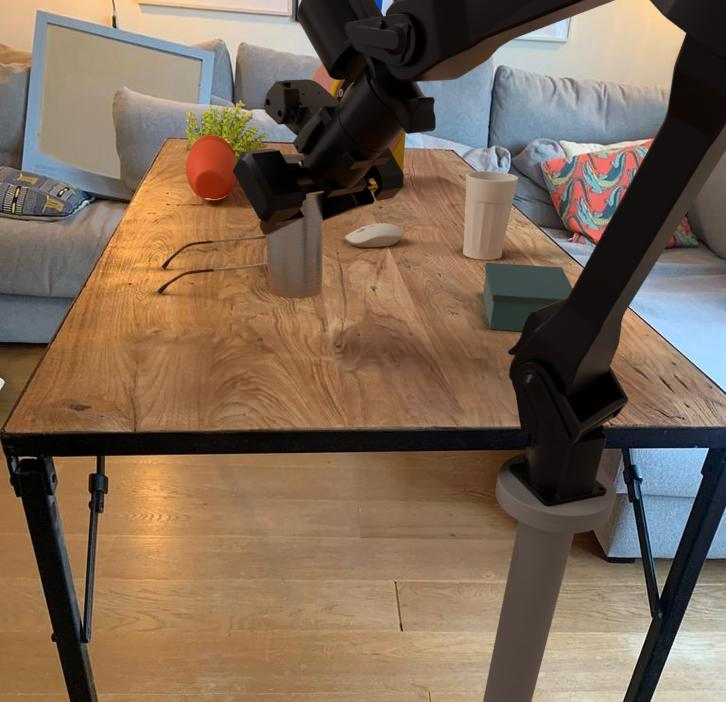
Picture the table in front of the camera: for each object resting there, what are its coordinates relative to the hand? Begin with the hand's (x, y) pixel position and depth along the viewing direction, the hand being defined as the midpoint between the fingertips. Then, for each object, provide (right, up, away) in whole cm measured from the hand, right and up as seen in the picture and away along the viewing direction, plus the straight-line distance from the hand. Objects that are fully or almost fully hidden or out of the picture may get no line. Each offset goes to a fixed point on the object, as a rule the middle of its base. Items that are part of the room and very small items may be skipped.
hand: (286, 226), depth 78 cm
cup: (+28, +10, +41) cm, 51 cm away
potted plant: (-21, +37, +78) cm, 89 cm away
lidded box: (+30, -5, +18) cm, 35 cm away
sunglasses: (-12, +1, +25) cm, 28 cm away
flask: (+1, -6, +3) cm, 7 cm away
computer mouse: (+10, +13, +44) cm, 47 cm away
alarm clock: (+6, +38, +82) cm, 90 cm away
